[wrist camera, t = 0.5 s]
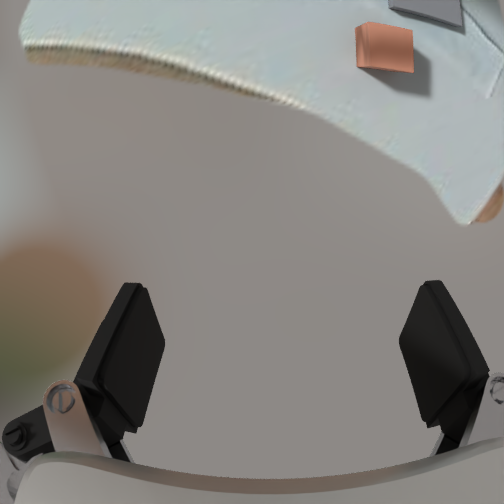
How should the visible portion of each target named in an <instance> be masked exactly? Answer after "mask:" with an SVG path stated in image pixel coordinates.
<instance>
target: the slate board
mask: <svg viewBox="0 0 504 504" xmlns="http://www.w3.org/2000/svg"><path fill="white" fill-rule="evenodd" d="M388 3H389V8H390V9H395V10H399V11H404V12H408V13H412V14H416V15H419V16H423V17H427V18H430V19H433V20H437V21H440V22H443V23H446V24H449V25H452V26H455V27H461V26H462V18H461V9H460V1H459V0H388Z"/></svg>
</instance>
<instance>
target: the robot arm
mask: <svg viewBox="0 0 504 504" xmlns="http://www.w3.org/2000/svg"><path fill="white" fill-rule="evenodd" d="M399 345H400V349H401V351H402V354H403V357H404V360H405V364H406V367H407V370H408V373H409V376H410V379H411V383H412V386H413V389H414V393H415V396H416V400H417V403H418V407H419V411H420V414H421V418H422V420H423V421H424V422H426V424H427V428H431V427H434V426H438V425H440V426H441V430H442V431H441V433H440V436H439V438H438V440H437V442H436V444H435V447H434V448H433V451H432V453H431V455H430V457H427V458H424V459H420V460H417V461H413V462H409V463H405V464H400V465H396V466H392V467H387V468H381V469H376V470H370V471H364V472H358V473H351V474H344V475H335V476H325V477H313V478H295V479H248V478H247V479H246V478H229V477H216V476H206V475H198V474H190V473H183V472H176V471H171V470H165V469H159V468H154V467H149V466H144V465H139V464H135V462H134V460H133V458H132V457H131V455H130V453H129V451H128V449H127V447H126V445H125V443H124V441H123V436H124V432H125V431H127V432H132V433H136V432H137V428H138V427H141V426H142V424H143V421H144V418H145V414H146V410H147V407H148V403H149V399H150V396H151V392H152V389H153V385H154V382H155V378H156V375H157V372H158V368H159V365H160V361H161V358H162V354H163V352H164V347H165V339H164V336H163V333H162V331H161V328H160V325H159V322H158V320H157V317H156V314H155V311H154V308H153V305H152V302H151V299H150V296H149V293H148V290H147V288H144V287H143V286H142V284H140V283H124V284H123V286H122V287H121V289H120V291H119V293H118V295H117V296H116V298H115V300H114V302H113V304H112V306H111V307H110V309H109V311H108V313H107V315H106V317H105V319H104V320H103V322H102V323H101V325H100V327H99V329H98V331H97V333H96V335H95V337H94V339H93V341H92V343H91V345H90V347H89V349H88V351H87V353H86V356H85V357H84V359H83V362H82V364H81V366H80V368H79V370H78V372H77V375H76V377H75V379H74V381H73V382H71V381H69V380H60V381H56V382H55V383H53V384H52V385H50V387H49V388H48V389H47V390H46V392H45V394H44V397H43V405H41V406H40V407H38V408H36V409H34V410H32V411H30V412H28V413H26V414H24V415H22V416H20V417H18V418H16V419H14V420H12V421H11V422H9V423H8V424H7V425H6V427H5V429H4V431H3V436H2V442H0V504H504V374H503V373H494V374H492V375H491V376H489V374H488V372H489V371H490V370H489V368H488V366H487V363H486V361H485V359H484V357H483V355H482V353H481V351H480V349H479V347H478V345H477V343H476V341H475V339H474V337H473V335H472V333H471V331H470V329H469V327H468V325H467V324H466V322H465V320H464V318H463V316H462V315H461V313H460V311H459V309H458V308H457V306H456V304H455V302H454V301H453V299H452V297H451V295H450V294H449V292H448V290H447V289H446V287H445V286H444V284H443V282H442V281H440V280H433V281H425V283H424V284H423V285H422V286H420V288H419V291H418V293H417V296H416V299H415V301H414V303H413V306H412V308H411V311H410V313H409V316H408V318H407V321H406V323H405V325H404V328H403V330H402V332H401V335H400V337H399Z"/></svg>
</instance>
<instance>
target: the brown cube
mask: <svg viewBox="0 0 504 504" xmlns="http://www.w3.org/2000/svg"><path fill="white" fill-rule="evenodd" d="M355 36H356V57H357V67H363V68H372V69H380V70H387V71H394V72H407V73H414V55H413V33H412V30H409V29H405V28H400V27H395V26H390V25H385V24H379V23H373V22H367V23H365V24H362V25H360V26H358V27H356V28H355Z"/></svg>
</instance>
